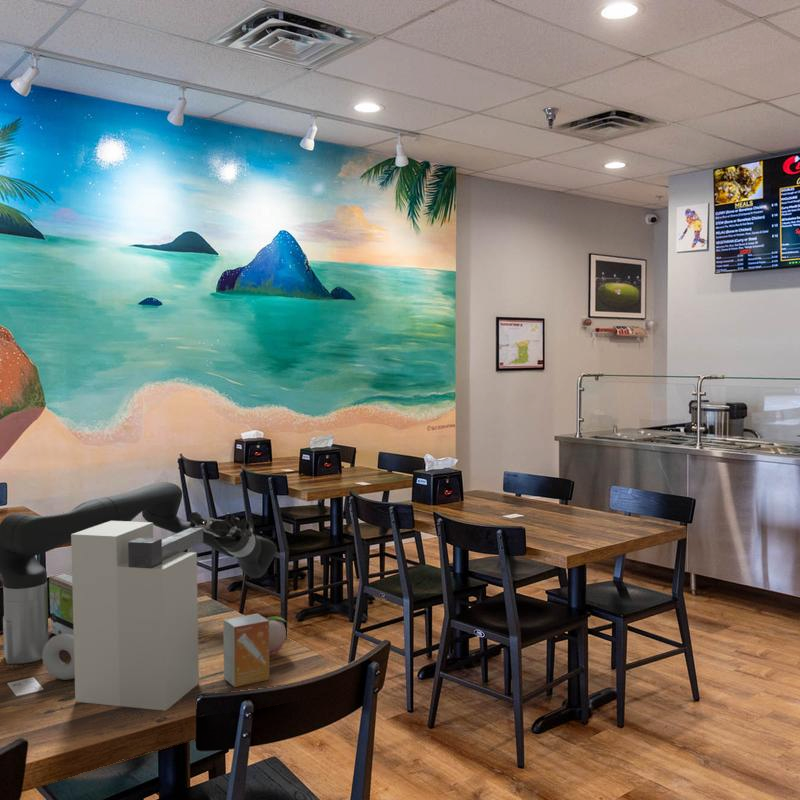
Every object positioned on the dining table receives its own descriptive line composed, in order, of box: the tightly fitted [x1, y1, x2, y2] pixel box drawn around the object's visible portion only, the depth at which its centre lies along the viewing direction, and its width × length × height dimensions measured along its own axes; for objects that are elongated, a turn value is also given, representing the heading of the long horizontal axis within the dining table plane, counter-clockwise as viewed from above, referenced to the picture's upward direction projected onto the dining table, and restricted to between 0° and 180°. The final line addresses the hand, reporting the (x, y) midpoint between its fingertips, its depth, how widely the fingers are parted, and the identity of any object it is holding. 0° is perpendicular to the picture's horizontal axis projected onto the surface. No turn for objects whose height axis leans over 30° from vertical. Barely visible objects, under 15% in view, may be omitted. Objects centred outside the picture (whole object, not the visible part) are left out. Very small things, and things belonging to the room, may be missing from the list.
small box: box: [222, 613, 270, 688], centre depth 176 cm, size 8×6×13 cm
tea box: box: [48, 571, 74, 636], centre depth 205 cm, size 15×10×15 cm, turn 49°
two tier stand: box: [70, 521, 200, 712], centre depth 169 cm, size 14×20×34 cm
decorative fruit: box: [265, 613, 287, 656], centre depth 189 cm, size 9×8×10 cm
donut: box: [41, 633, 75, 681], centre depth 177 cm, size 10×4×10 cm, turn 82°
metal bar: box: [128, 528, 203, 569], centre depth 172 cm, size 24×5×5 cm, turn 167°
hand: (209, 516), depth 190 cm, fingers open, 8 cm apart
